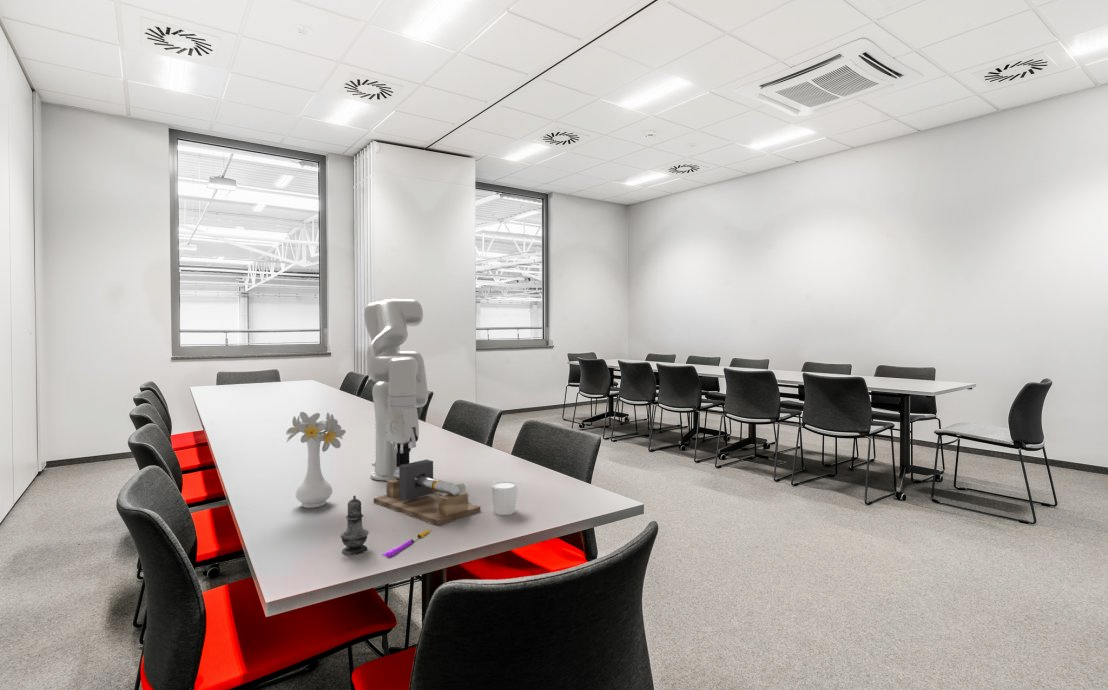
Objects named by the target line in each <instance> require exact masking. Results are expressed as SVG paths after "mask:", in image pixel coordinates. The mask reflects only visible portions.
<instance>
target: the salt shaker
mask: <svg viewBox="0 0 1108 690" xmlns="http://www.w3.org/2000/svg"><path fill="white" fill-rule="evenodd" d="M363 518H364V514H363V513H362V501H361V500H360V499H358V498H357V496H356V495H353V497H352V499H350V500H349V501H348V502H347V515H346V516H345V519H347V520H346V521H347V523H346V524H347V525H346V531H343V532H342V533H340V535H339V537H340V539H341V542H342V544H343V545H344V546H345V547H344V548H343V549H342V550H341V553H342V554H343V555H346V556H355V555H359V554H360V555H361V554H363V553H365V552H367V551H368V546H367V545H365V543H366V541H367V539H368V535H369V534H370V531H369V530H368V529H366V528H365V529H364V527H363Z"/></svg>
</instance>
